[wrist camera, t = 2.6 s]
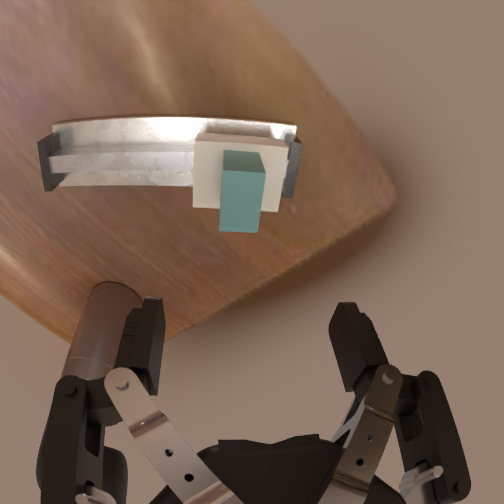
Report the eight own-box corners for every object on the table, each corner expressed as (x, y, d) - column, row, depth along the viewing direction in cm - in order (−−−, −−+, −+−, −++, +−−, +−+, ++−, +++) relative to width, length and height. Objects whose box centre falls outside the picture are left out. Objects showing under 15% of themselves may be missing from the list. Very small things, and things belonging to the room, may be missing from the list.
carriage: (278, 132, 29) (302, 167, 20) (269, 187, 33) (287, 241, 24) (200, 126, 28) (187, 159, 19) (197, 182, 32) (186, 237, 23)
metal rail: (293, 123, 30) (304, 134, 26) (282, 187, 35) (290, 206, 31) (57, 122, 27) (36, 133, 23) (64, 181, 32) (46, 199, 28)
